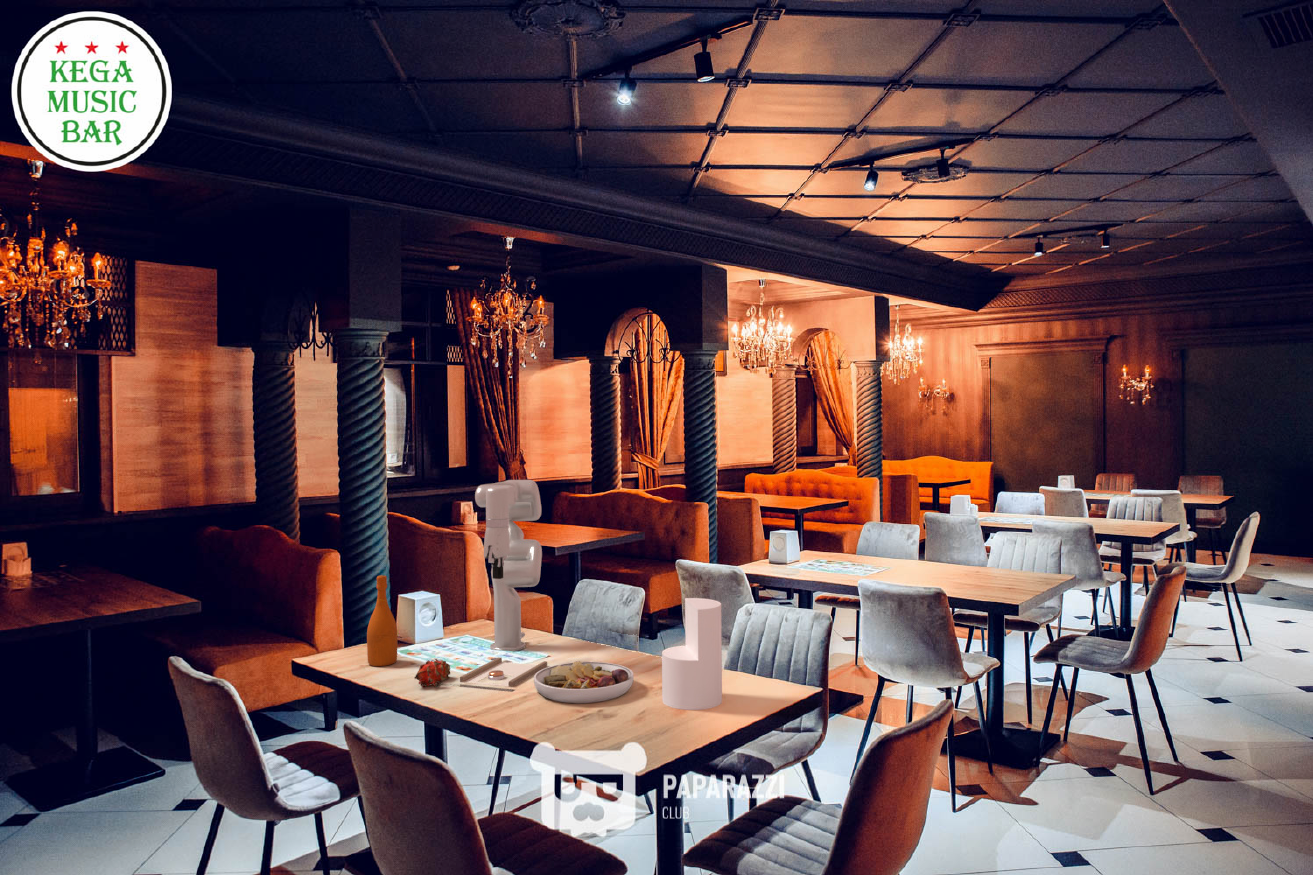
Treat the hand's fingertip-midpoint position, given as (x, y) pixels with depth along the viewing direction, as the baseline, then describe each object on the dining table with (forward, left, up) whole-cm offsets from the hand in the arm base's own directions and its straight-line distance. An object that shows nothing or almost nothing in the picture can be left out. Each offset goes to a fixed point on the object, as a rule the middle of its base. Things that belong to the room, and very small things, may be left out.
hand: (498, 578), depth 287 cm
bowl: (+18, +39, -30) cm, 52 cm away
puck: (+19, +10, -29) cm, 36 cm away
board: (+14, +10, -29) cm, 34 cm away
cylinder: (+18, +73, -29) cm, 81 cm away
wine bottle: (+10, -39, -29) cm, 50 cm away
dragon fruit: (+27, -8, -29) cm, 41 cm away
